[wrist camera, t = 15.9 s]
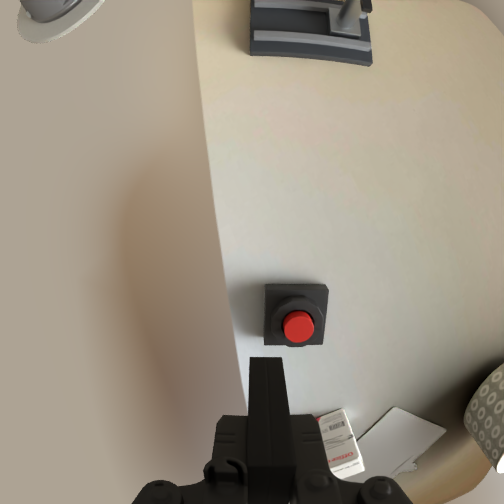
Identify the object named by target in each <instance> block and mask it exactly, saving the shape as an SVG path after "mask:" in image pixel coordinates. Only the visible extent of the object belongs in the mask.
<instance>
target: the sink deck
mask: <svg viewBox="0 0 504 504" xmlns="http://www.w3.org/2000/svg"><path fill="white" fill-rule="evenodd" d="M343 4H344V1H337V0H251V15H250V56H281V57H297V58H309V59H319V60H328V61H336V62H344V63H351V64H357V65H363V66H370V65H371V64H372V63H373V61H372V50H371V41H370V32H369V24H368V16H367V12H362V14H361V15H360V17H359V22H360V30H361V36H360V38H359V39H358V40H354V39H348V38H342V37H335V36H328V35H327V22H326V13H327V11H328V8H329V7H330V8H337V9H341V7H342V6H343Z"/></svg>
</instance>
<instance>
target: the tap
mask: <svg viewBox="0 0 504 504" xmlns="http://www.w3.org/2000/svg"><path fill="white" fill-rule="evenodd" d="M371 11H372V4H371V0H345V2H344V4H343V6H342V7H341V9H337V8H330V7H329V8H328V11H327V13H326V22H327V35H328V36H335V37H342V38H348V39H354V40H358V39H359V38H360V36H361V30H360V22H359V17H360V15H361V14H362V12H367V13H371Z"/></svg>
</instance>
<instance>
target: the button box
mask: <svg viewBox="0 0 504 504" xmlns="http://www.w3.org/2000/svg"><path fill="white" fill-rule="evenodd" d="M328 294H329V289H328V288H327V286H326V285H325V284H265V316H264V345H286V346H288V347H303V346H305V345H323V339H324V330H325V322H326V313H327V304H328ZM294 311H303V312H306V313H307V314H308V315H309V316H310V318H311V320H312V323H313V326H314V331H313V334H312V335H311V337H310V338H309V339H307V340H306V341H303V342H292V341H290V340H289V339H288V338H287V337H286V336H285V333H284V328H283V322H284V319H285V317H286V316H287V315H288V314H289V313H291V312H294Z"/></svg>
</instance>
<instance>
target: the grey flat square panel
mask: <svg viewBox="0 0 504 504" xmlns="http://www.w3.org/2000/svg"><path fill="white" fill-rule="evenodd" d="M445 432H446V429H445V428H442V427H440V426H438V425H435V424H433V423H431V422H429V421H426V420H424V419H422V418H419V417H417V416H415V415H413V414H411V413H408V412H406V411H404V410H402V409H400V408H398V407H394V408H392V409H391V410H390V411H389V412H388V413H387V414H386V415H385V416H384V417H383V418H382V419H381V420H380V421H379V422H378V423H377V424H375V425H374V426H373V427H372V428H371V429H370V430H369V431H368V432H367V433H366V434H365V435H364V436H363V437H361V438H360V439H359V440H358V441H357V445H358V448H359V451H360V454H361V457H362V460H363V463H364V466H365V471H362V472H360V473H357V474H355V475H352V476H349V477H346V478H344V479H342V480H344V481H349V482H358V483H364V482H365V481H366V480H367V479H369V478H371V477H374V476H386V477H389V478H394V477H395V476H396V475H397V474H399V473H400V472H404V471H409V472H411V471H413V470H417V469H418V468H417V465H416V464H415V463H413V461H414V460H416V459H417V458H418V457H419V456H420V455H421V454H422V453H424V452H425V451H426V450H427V449H428V448H429V447H430V446H431V445H432V444H433V443H434V442H436V441H437V440H438V439H439V438H440V437H441V436H442V435H443V434H444V433H445Z"/></svg>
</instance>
